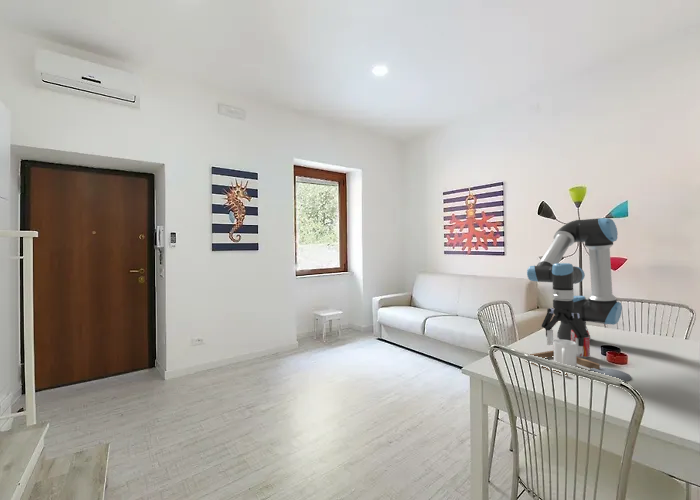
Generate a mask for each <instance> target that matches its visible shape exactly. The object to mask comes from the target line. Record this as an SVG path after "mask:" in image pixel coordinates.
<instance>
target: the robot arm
mask: <svg viewBox="0 0 700 500" xmlns="http://www.w3.org/2000/svg"><path fill="white" fill-rule="evenodd" d="M617 240H618V228H617V225H616V223H615V220H613V218H612V219H611V218H610V217H609V218H608V217H605V218H604V217H600V218H598V217H597V218H586V219H575V220H573V221H570V222H567V223H565V224H564V225H562V226H561V227H560V228H558V230H557V231H556V232H555V233H554V235H553V240H552V241H551V243H550V245H549V246H548V248H547V249H546V250H545V252H544V254H543V256H542V257H541V259H540V260H539V262H538V263H537V264H536V265H535V264H534V265H530V266H528V268H527V270H526V275H527V279H528V280H529V281H530V282H537V283H552V298H553V299H552V307H550V308H547V311H546V314H545V318H544V319H543V321H542V323H541V327H542V328H544V329H545V337H546V345H547V346H554V345H553V341H554V329H553V328H554V326H556V324H557V323H558V322H560V324H559V327H558V330H557V333H556V334H557V335H556V336H557V339H563V340H570V341H571V330H573V331H574V333H575V334H576V336H577V338H576V354H582V346H584V338H586V337H589V341H590V342H591V335H590V334H589V335H588V333H587V330H586V328H587V329H588V326H587V322H589V323H596V324H597V323H598V324H604V325H613V326H614V325H616V324H618V323H619V321H620V320H621V316H622V309H623V305H622V302H621V301H617V297H616V295H614V294H613V283H612V280H613V279H612V265H611V264H612V263H611V247H612V246H613V245H614V242H616V241H617ZM574 243H584V246H585V248H586V249H588V257H589V259H588V260H589V273H590V275H589V276H590V289H591V294H590V295H588V298H587V297H586V296H585V295H574V285H575V284H578V283H581V282H583V280H584V279H585V271H584V270H583V269H582V268H581V267H579V266H576V265H575V266H573V264H572V263H567V262H561V260H562V259H563V257H564V255H565V253H566V252H567V251H568V249H569V247H571V246H573V245H574ZM586 298H587V299H586Z"/></svg>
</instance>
